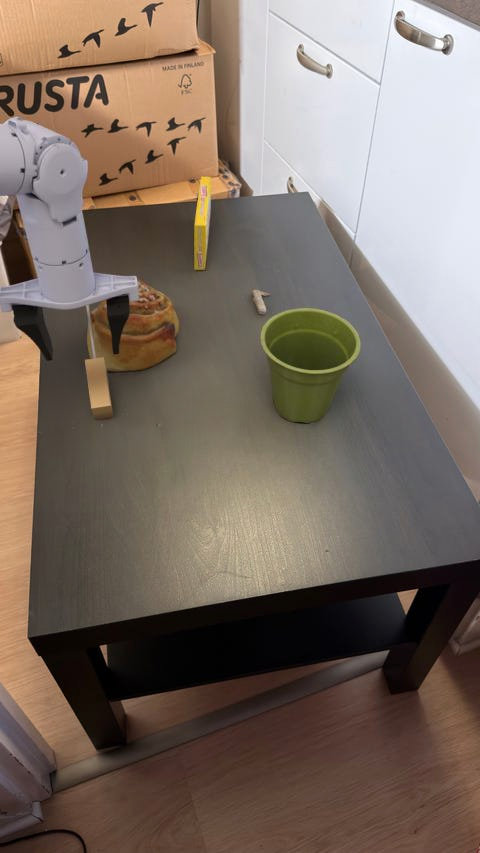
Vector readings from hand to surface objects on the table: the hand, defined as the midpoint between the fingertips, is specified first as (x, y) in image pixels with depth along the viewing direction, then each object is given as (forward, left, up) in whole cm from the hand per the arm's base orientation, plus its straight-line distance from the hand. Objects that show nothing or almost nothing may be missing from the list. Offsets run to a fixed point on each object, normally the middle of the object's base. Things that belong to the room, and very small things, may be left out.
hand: (83, 352), depth 73 cm
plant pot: (+27, -3, -10) cm, 29 cm away
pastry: (+6, +14, -10) cm, 18 cm away
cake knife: (0, +7, -7) cm, 10 cm away
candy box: (+19, +37, -10) cm, 43 cm away
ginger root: (+26, +19, -10) cm, 34 cm away
